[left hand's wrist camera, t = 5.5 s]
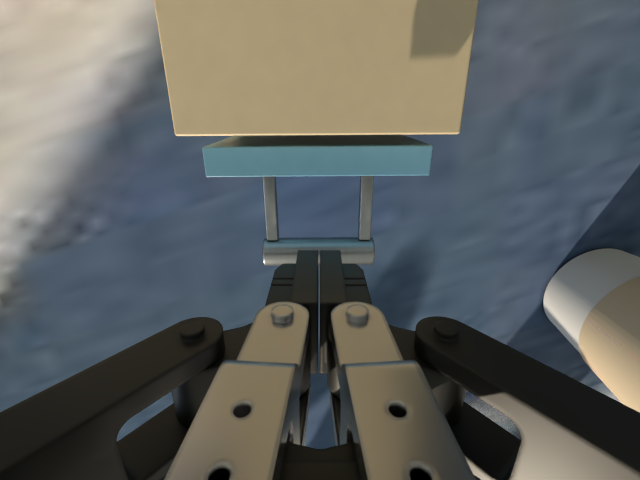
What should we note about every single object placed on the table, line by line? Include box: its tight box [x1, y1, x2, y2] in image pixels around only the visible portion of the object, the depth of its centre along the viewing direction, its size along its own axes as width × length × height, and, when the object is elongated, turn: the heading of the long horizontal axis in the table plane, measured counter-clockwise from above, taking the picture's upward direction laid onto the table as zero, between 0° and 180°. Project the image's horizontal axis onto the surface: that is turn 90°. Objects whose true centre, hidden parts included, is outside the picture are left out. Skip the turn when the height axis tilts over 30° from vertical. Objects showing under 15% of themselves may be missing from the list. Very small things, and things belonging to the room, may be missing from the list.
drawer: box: [202, 134, 433, 266], centre depth 14 cm, size 24×9×6 cm, turn 0°
